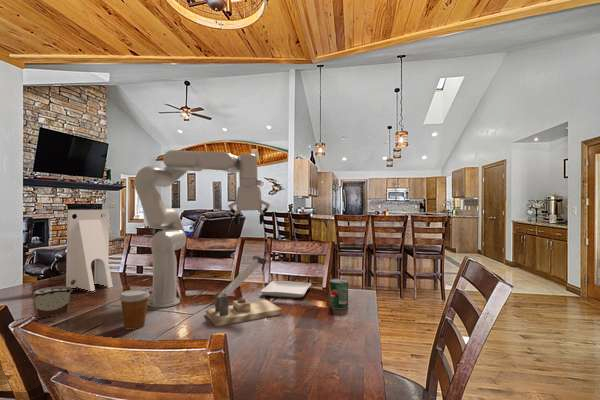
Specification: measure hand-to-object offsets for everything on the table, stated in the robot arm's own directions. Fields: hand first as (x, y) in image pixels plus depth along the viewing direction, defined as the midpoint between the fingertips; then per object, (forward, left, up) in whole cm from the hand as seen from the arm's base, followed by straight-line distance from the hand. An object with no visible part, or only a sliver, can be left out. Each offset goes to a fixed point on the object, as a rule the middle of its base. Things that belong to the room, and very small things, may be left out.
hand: (249, 224), depth 136 cm
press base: (-4, -6, -35) cm, 36 cm away
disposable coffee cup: (-42, +1, -35) cm, 55 cm away
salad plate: (+26, +14, -36) cm, 46 cm away
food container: (-69, +31, -35) cm, 84 cm away
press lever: (-5, -6, -21) cm, 22 cm away
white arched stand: (-56, +70, -35) cm, 96 cm away
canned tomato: (+35, -16, -35) cm, 52 cm away
